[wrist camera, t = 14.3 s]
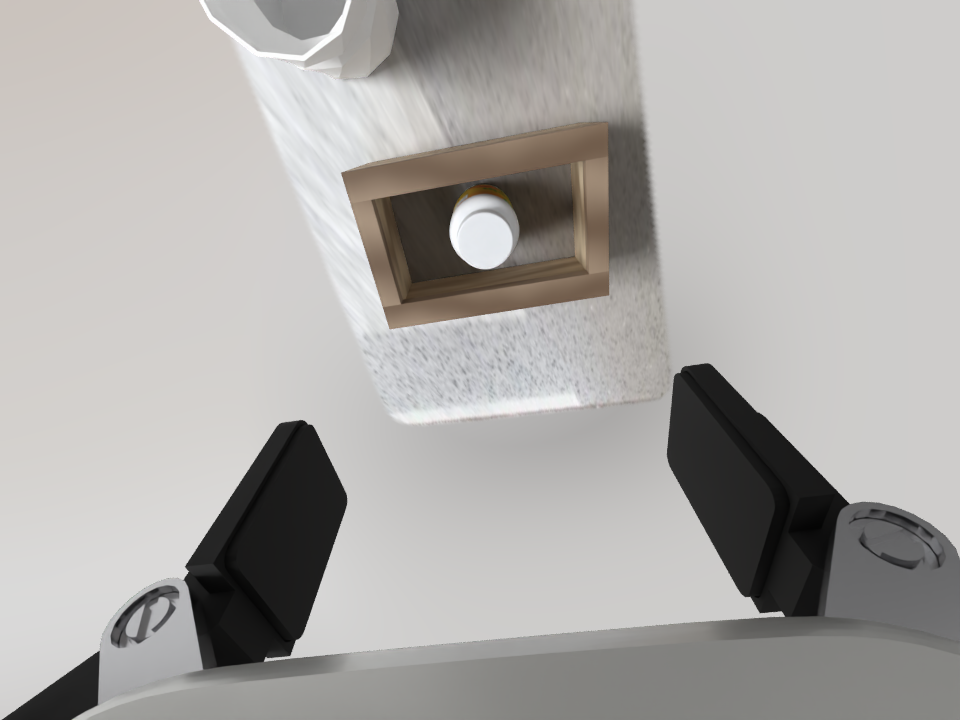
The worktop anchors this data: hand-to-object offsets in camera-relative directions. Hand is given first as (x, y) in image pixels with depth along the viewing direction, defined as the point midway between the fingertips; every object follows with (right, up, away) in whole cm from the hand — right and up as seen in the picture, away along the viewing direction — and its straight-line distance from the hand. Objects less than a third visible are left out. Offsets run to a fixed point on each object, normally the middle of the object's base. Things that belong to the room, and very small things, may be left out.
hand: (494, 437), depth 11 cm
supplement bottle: (0, +15, +26) cm, 30 cm away
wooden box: (0, +15, +26) cm, 30 cm away
